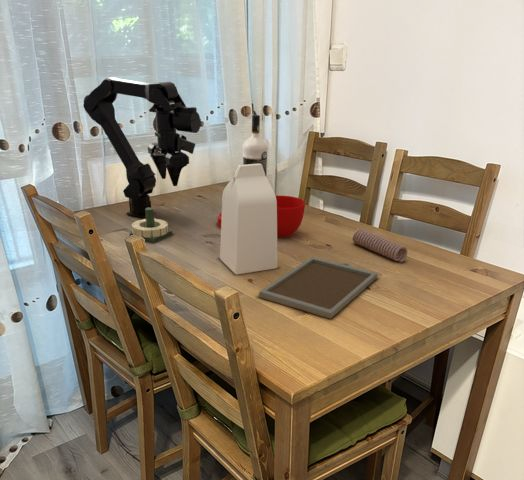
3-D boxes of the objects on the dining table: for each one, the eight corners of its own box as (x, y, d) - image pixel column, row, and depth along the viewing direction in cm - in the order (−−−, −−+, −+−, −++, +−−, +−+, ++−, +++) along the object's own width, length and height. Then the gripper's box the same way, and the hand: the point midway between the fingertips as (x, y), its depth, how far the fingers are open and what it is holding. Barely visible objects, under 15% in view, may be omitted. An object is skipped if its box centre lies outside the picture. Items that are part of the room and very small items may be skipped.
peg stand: (129, 237, 165) (127, 209, 160) (149, 228, 171) (147, 202, 167) (153, 243, 161) (151, 215, 157) (172, 234, 168) (171, 207, 163)
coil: (410, 246, 153) (364, 227, 166) (399, 247, 151) (353, 228, 163) (406, 262, 156) (360, 242, 168) (395, 263, 153) (350, 243, 165)
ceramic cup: (284, 221, 182) (286, 190, 176) (310, 238, 169) (313, 205, 164) (248, 225, 177) (249, 194, 171) (272, 243, 164) (273, 210, 159)
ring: (125, 232, 164) (124, 225, 163) (148, 223, 172) (147, 216, 171) (152, 240, 160) (152, 232, 159) (175, 230, 168) (174, 223, 166)
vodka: (254, 201, 199) (256, 111, 183) (272, 208, 193) (276, 115, 178) (235, 206, 193) (235, 114, 177) (253, 213, 188) (255, 118, 172)
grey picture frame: (258, 291, 132) (316, 253, 154) (258, 297, 133) (316, 258, 155) (331, 313, 124) (381, 269, 146) (330, 319, 124) (380, 275, 146)
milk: (236, 274, 144) (236, 172, 130) (219, 258, 153) (218, 161, 139) (277, 268, 148) (282, 168, 135) (259, 253, 157) (262, 158, 144)
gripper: (204, 133, 161) (205, 187, 170) (179, 122, 175) (181, 172, 183) (168, 135, 156) (171, 191, 165) (145, 124, 170) (149, 176, 178)
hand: (169, 182), depth 173 cm, fingers open, 9 cm apart
